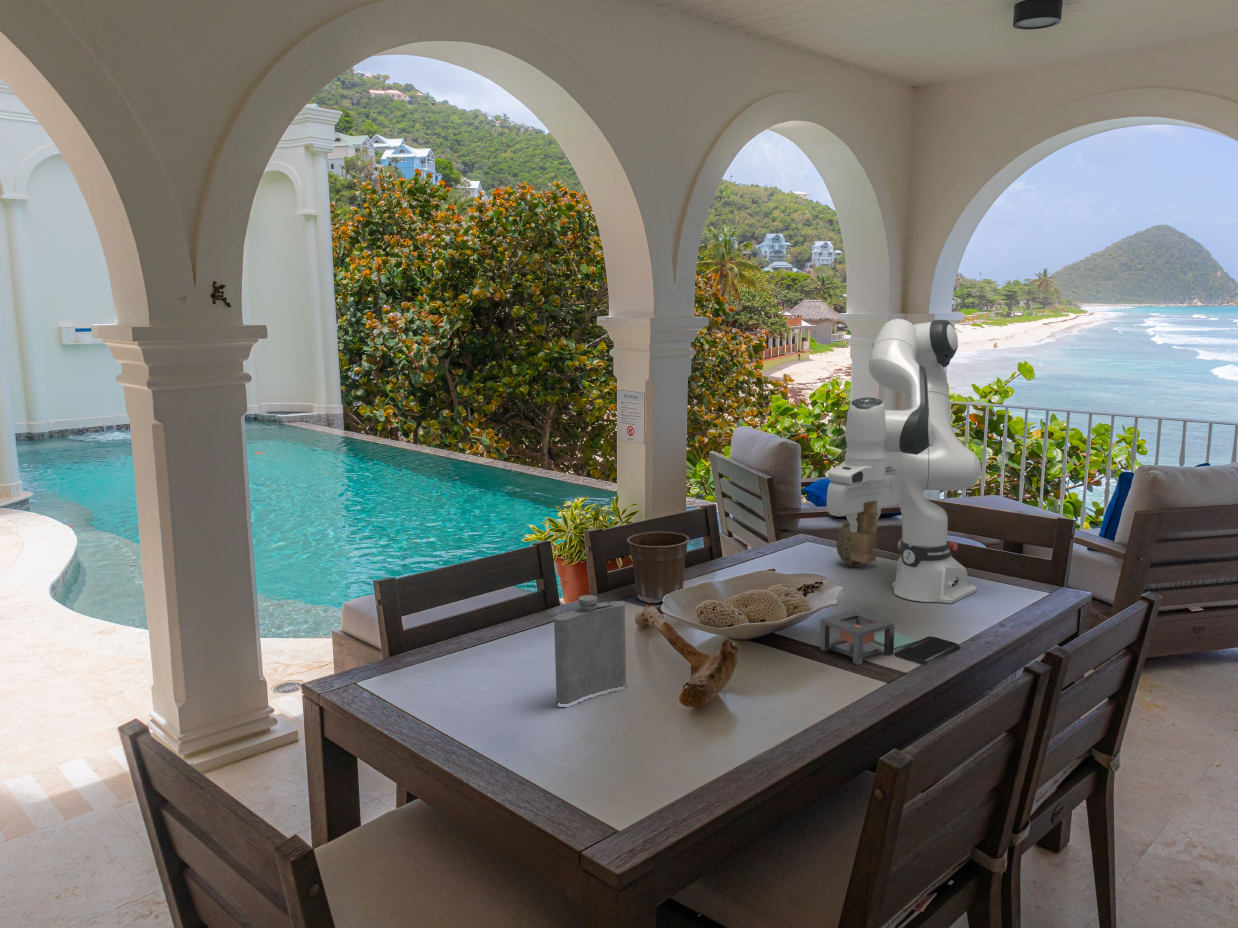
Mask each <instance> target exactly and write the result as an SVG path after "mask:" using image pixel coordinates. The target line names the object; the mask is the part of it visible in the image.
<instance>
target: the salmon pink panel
mask: <svg viewBox="0 0 1238 928" xmlns="http://www.w3.org/2000/svg"><path fill="white" fill-rule="evenodd" d="M853 626H856V627H861V626H862V625H861V624H860V625H857V624H855V625H853ZM874 635H875V632H874V633H871V634H868V635H864V636H863V644H864V643H865V644H867V643H870V642H871V643H872V641H874ZM839 640H842V641H845V642H846V643H847V642H850V643H852V644H853V635H852V634H849V633H846V632H844V631H841V630H839Z"/></svg>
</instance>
